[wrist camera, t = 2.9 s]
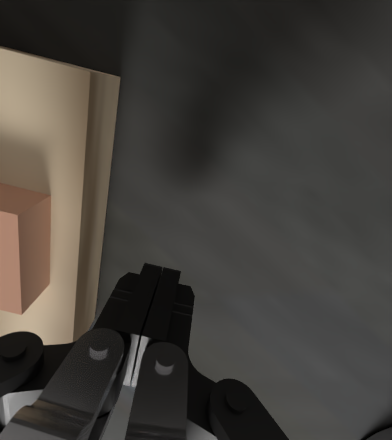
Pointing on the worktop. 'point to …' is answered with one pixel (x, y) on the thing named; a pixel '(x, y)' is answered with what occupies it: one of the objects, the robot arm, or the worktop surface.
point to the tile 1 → (23, 247)
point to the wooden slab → (60, 179)
